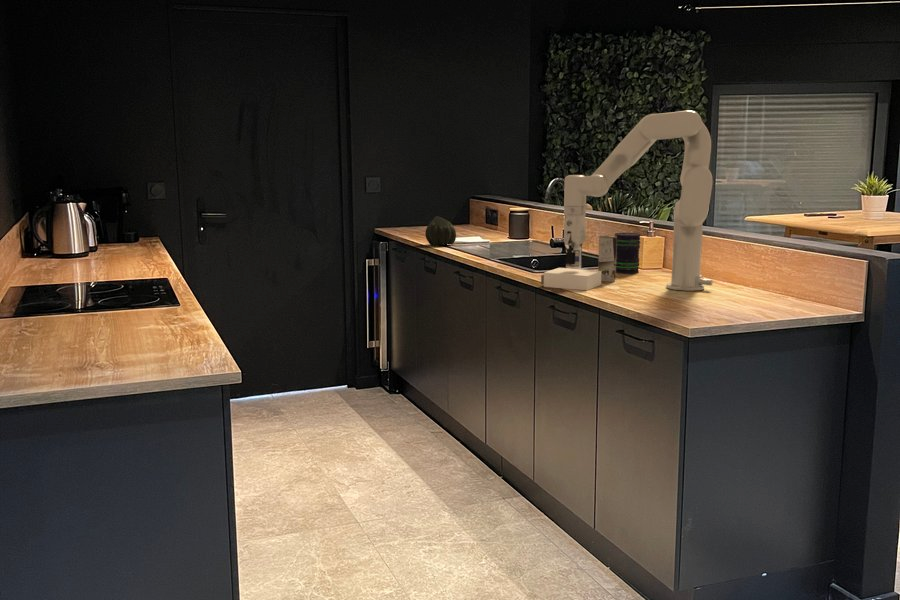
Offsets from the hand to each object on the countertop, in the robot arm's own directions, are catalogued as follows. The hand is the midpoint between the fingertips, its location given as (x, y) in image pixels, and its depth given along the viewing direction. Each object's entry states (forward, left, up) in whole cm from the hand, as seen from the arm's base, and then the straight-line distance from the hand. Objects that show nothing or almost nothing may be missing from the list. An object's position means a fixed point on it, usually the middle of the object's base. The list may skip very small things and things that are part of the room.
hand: (573, 262), depth 303 cm
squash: (+102, -85, -9) cm, 133 cm away
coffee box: (-6, -19, -9) cm, 22 cm away
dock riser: (0, 0, -8) cm, 8 cm away
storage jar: (-6, -42, -9) cm, 43 cm away
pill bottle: (0, 0, -2) cm, 2 cm away
